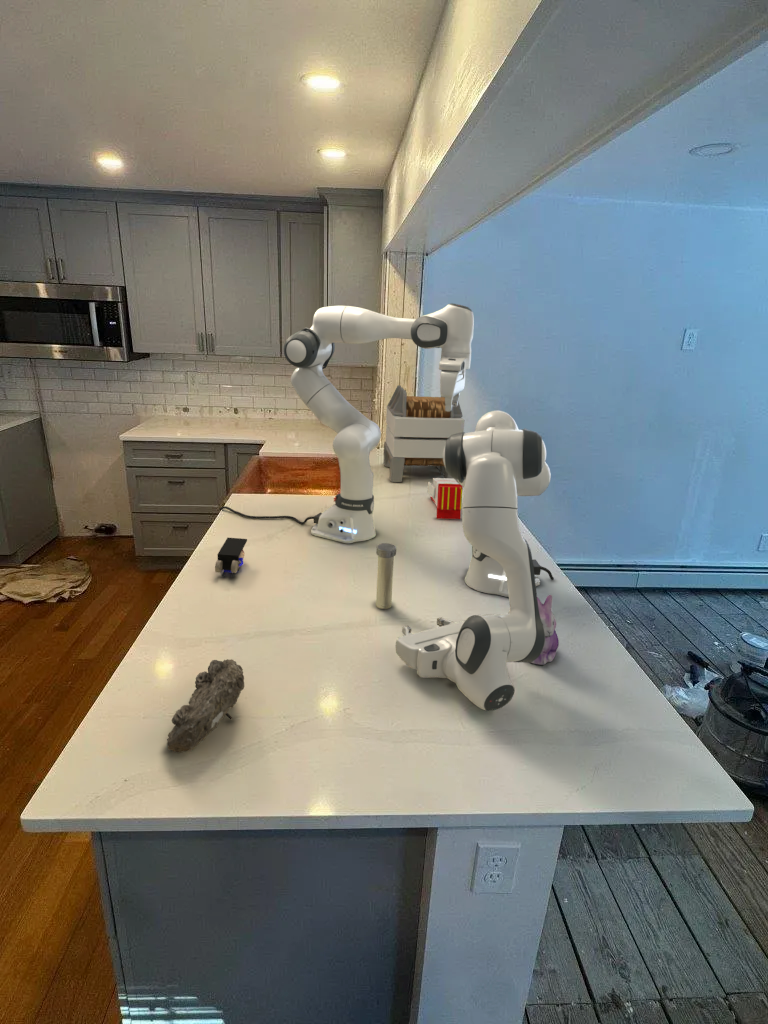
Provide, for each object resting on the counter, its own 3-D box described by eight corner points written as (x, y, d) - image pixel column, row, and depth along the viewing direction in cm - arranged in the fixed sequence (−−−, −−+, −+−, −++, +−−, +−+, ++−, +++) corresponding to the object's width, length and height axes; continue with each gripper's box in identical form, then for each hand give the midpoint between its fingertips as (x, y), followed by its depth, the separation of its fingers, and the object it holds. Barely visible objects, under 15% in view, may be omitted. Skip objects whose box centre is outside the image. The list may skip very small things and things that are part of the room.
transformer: (382, 463, 289) (386, 382, 275) (445, 464, 293) (451, 384, 279) (390, 482, 257) (394, 392, 243) (460, 483, 261) (468, 394, 247)
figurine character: (238, 584, 162) (249, 557, 175) (236, 562, 158) (247, 536, 172) (215, 584, 161) (227, 556, 175) (212, 561, 158) (225, 535, 171)
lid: (385, 548, 150) (385, 541, 149) (399, 554, 147) (400, 547, 146) (372, 553, 146) (372, 546, 146) (387, 559, 143) (387, 552, 142)
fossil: (192, 660, 117) (244, 628, 112) (224, 691, 120) (276, 661, 115) (142, 746, 98) (202, 712, 93) (182, 779, 101) (242, 748, 96)
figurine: (539, 671, 126) (548, 612, 121) (509, 647, 135) (517, 591, 130) (570, 661, 130) (580, 603, 125) (539, 638, 139) (548, 583, 134)
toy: (455, 474, 240) (467, 485, 211) (453, 505, 243) (464, 520, 214) (426, 473, 240) (434, 484, 211) (425, 504, 243) (432, 519, 213)
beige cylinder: (383, 600, 154) (385, 544, 149) (394, 605, 152) (397, 548, 146) (372, 605, 151) (375, 548, 146) (384, 610, 149) (387, 553, 143)
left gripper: (451, 359, 179) (448, 403, 183) (437, 363, 160) (434, 412, 165) (471, 360, 177) (467, 404, 182) (459, 365, 158) (455, 414, 163)
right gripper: (495, 632, 126) (460, 603, 137) (415, 654, 117) (384, 621, 128) (492, 656, 128) (457, 626, 139) (413, 679, 119) (383, 645, 130)
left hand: (451, 408), depth 173 cm, fingers open, 8 cm apart
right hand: (422, 624), depth 134 cm, fingers open, 8 cm apart
